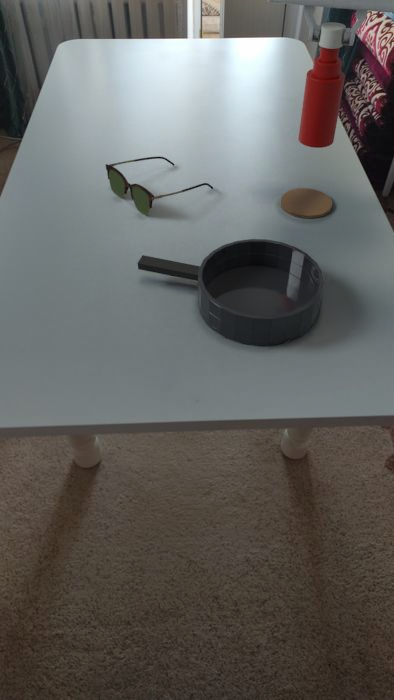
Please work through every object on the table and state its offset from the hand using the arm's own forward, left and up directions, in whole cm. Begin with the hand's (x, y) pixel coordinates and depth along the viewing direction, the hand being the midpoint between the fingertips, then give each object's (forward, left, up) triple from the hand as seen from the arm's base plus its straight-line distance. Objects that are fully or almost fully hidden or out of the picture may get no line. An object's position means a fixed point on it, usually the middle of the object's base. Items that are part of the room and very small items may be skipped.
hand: (331, 42), depth 78 cm
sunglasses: (+26, +3, -26) cm, 37 cm away
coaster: (0, 0, -26) cm, 26 cm away
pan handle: (+15, +28, -24) cm, 40 cm away
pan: (+2, +28, -26) cm, 38 cm away
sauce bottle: (0, 0, -14) cm, 14 cm away
